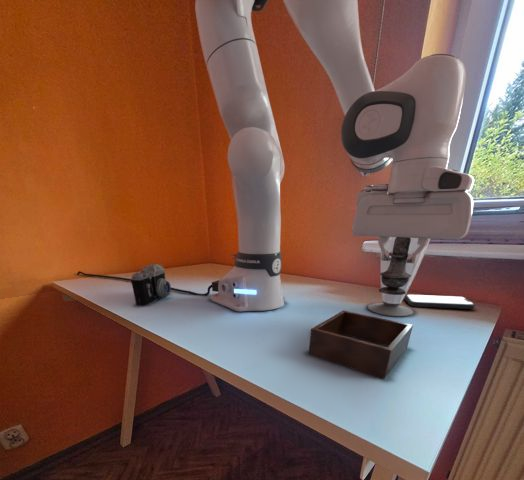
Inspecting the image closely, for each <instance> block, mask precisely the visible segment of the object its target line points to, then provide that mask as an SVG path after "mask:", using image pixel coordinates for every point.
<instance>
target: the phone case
mask: <svg viewBox="0 0 524 480" xmlns="http://www.w3.org/2000/svg"><path fill="white" fill-rule="evenodd" d="M404 300H405V302H406V303H408V305H409V306H411V307H419V308H437V309H438V308H439V309H459V310H460V309H461V310H474V308H475V306H476V304H475V303H474V302H473V301H471V300H469V299H468V298H466V297H464V296H455V295H454V296H453V295H431V294H430V295H428V294H406V295H405V296H404Z"/></svg>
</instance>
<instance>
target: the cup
mask: <svg viewBox="0 0 524 480" xmlns="http://www.w3.org/2000/svg"><path fill="white" fill-rule="evenodd" d="M396 238H397V237H389V241H388V242H386V246H387V249H388V251H391V252H393V247H394V242H395V239H396ZM410 239H411V241H410V246H409V251H408V254H409V253H414V252H415V251H416V250H417V248H418V247H419V246H420V245H418V244H417V242H418V238H410ZM430 241H431V239H429V240H428V244H427V245H426V246H425V247H424V249H423V250H422V251H421V252H420V253H419V254H418V258H417V262H416V263H415V264H414V263H407V262H406V272H407V273H408V274H410V275H411V277H410V278H409V281H408V282H407V283H406V285H404V286H403V287H399V288H401V289H403V290H404V291H405V292H406V293H405V294H402V295H391V294H385V293H381V301H382V302H374V303H370V304H368V306H367V309H368V310H369V311H370V312H372V313H374V314H378V315H381V316H386V317H395V318H397V317H398V318H402V317H410V316H412V315H413V314H414V310H413V309H412V308H410V307H407V306H405V305H402V301H403V300H404V299H405V295H407V293H408V291H409V290H410V288H411V285H412V283H413V281H414V279H415V277H416V275H417V274H418V270H419V268H420V266H421V263H422V261H423V259H424V257H425V255H426V251H427V250H428V247H429V244H430ZM381 257H382V251H381V250H380V258H381ZM407 259H408V257H407ZM379 262H380V266H379V267H380V269H379V273H382V272H385V271H387V269H388V267H389V265H390V261H381V260H380V261H379ZM379 275H380V274H379ZM381 277H382V276H381V275H380V278H381ZM383 287H387V286H385V285H384V284H383V283H382V280H381V279H380V289H381V288H383Z"/></svg>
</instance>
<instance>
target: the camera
mask: <svg viewBox="0 0 524 480" xmlns="http://www.w3.org/2000/svg"><path fill="white" fill-rule="evenodd" d="M130 279H131V281H130V283H131V286H132V292H133V296H134V301H135V306H137V307H147V306H149V305H150V304H152V303H155V302H156V301H158V300H160V299H162V298H166V297H167V296H169V295H170V294H171V291H172V290H171V288H172V287H171V283H170V282H169V281H168V280H167V279H166V274H165V267H164V266H163V265H162V264H158V263H150V264H148V265H145V266H144V267H143V268H142V269H141V270H140V271H139V272H138V271H137V272H135V273H134V274H132V275H131V278H130Z"/></svg>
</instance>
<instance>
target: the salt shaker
mask: <svg viewBox="0 0 524 480" xmlns="http://www.w3.org/2000/svg"><path fill="white" fill-rule="evenodd" d="M410 241H411V239H410V238H403V237H397V238H396V239H395V242H394V247H393V252H392V254H390V256H391V260H390V265H389V267H388V269H387V271H385V272H382V273H380V272H379V273H380V274H379V275H381V276H382V277H380V281H381V280H382V283H383V284H384V285H385V286H387V287H383V288H381V287H380V288H379V289H378V292H380V293H381V294H382V293H385V294H391V295H402V294H405V293H406V292H405V291H404V290H403V289H401V288H399V287H403V286H404V285H406V283H407V282H408V281H409V278H410V277H411V275H410V274H408V273H407V272H406V262H407V257H408V251H409V246H410ZM406 294H407V293H406Z"/></svg>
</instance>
